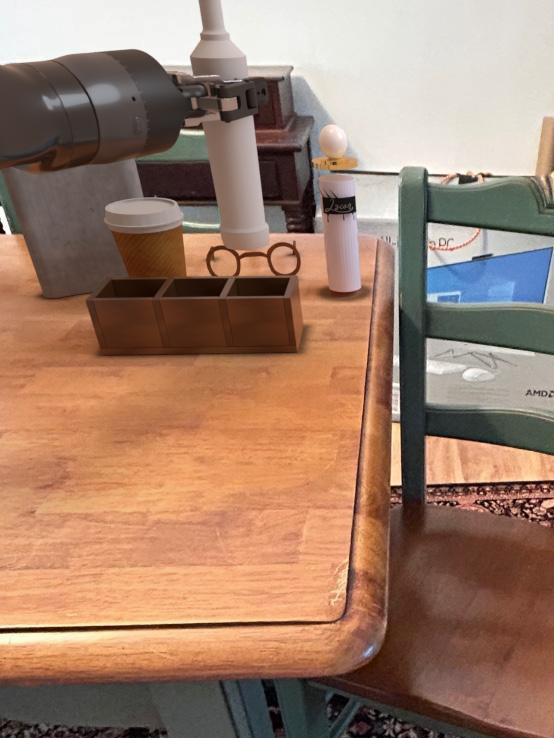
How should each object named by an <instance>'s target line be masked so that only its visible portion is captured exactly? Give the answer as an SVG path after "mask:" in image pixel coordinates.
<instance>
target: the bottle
mask: <svg viewBox="0 0 554 738" xmlns="http://www.w3.org/2000/svg"><path fill="white" fill-rule="evenodd" d="M198 6H199V12H200V13H199V14H200V20H201V25H202V31H200V33H199V37H200V40H199V41H198V42H197V44H196V46H195V48H194V49H193V51H192V52H191V53H190V55H189V60H190V67H191V71H192V75H199V74H215V75H219V76H220V77H221V78H222V80H226V79H234V77H239V79H244V78H250V77H249V70H248V61H247V55H246V54H245V53H244V52H243V51H242V50H241V49H240V48H239V47H238V46H237V45H236V44H235V43H234V42H233V41H232V39H231V35H230V32H228V31H227V30H226V28H225V21H224V13H223V8H222V0H198ZM204 85H205V87H206V88H207V90H208V95H209V96H211V93H210V87H209V84H208V83H204ZM211 111H212V110H209V111H208V112H207V113H209V112H211ZM254 121H255V119H254V115H251V116H248V117H244V118H241V119H238V120H235V121H231V123H225V121H221V120H217V121H207V122H201V124H202V129H203V134H204V139H205V144H206V149H207V157H208V161H209V167H210V172H211V176H212V182H213V187H214V193H215V198H216V203H217V208H218V213H219V219H220V226H219V235H220V237H221V238H220V239H221V241H222V244H223V245H224V246H225V247H226V248H228V249H232V250H235V251H241V252H242V251H254V250H260V249H263V248H266V247H267V246H269V245H270V244H269V243H270V227H269V223H267V222H266V216H265V208H264V199H263V189H262V182H261V181H262V180H261V174H260V164H259V155H258V148H257V147H258V146H257V138H256V129H255V122H254Z"/></svg>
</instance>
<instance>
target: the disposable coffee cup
mask: <svg viewBox="0 0 554 738" xmlns="http://www.w3.org/2000/svg"><path fill="white" fill-rule="evenodd" d="M105 215H106V217H105V218H104V222H105V223H106V224H107V225H108V228H109V229H110V230H111V232H112V234H113V237H114V239H115V242H116V244H117V247H118V249H119V252H120V254H121V257H122V260H123V262H124V264H125V267H126V270H127V272H128V275H129V277H177V276H188V274H187V265H186V264H187V263H186V255H185V244H184V233H183V223H184V217H185V215H184V212H183V211H181V208H180V206H179V204H178V201H176V200H173V199H171V198H166V197H151V196H150V197H144V198H134V199H126V200H121V201H117V202H114V203H111V204H109V205H107V206H106V207H105Z"/></svg>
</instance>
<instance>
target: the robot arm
mask: <svg viewBox="0 0 554 738" xmlns="http://www.w3.org/2000/svg"><path fill="white" fill-rule="evenodd" d="M204 83H208V84H209V87H210V93H211V96H209V95H208V90H207V88H206V87H205V85H204ZM267 84H268V83H267V81H266V78H265V77H263V76H253V77H249V78H244V79H239V77H234V79H226V80H222V78H221V77H220V76H219V75H215V74H199V75H193V74H191V73H188V72H184V71H177V70H166V69H165V68H164V67H163V65H162V64H161V63H160V61H158V60H157V59H156V58H155V57H154V56H153V55H151V54H149V53H148V52H145V51H144V50H141V49H137V48H127V49H114V50H113V49H112V50H104V51H93V52H92V51H91V52H80V53H70V54H64V55H61V56H58V57H54V58H52V59H46V60H37V61H35V60H34V61H25V62H13V63H12V62H11V63H6V64H3V65H2V64H0V171H1V169H5V168H9V167H13V168H14V169H17V170H19V171H21V172H25V173H30V174H45V173H51V172H57V171H62V170H67V169H72V168H76V167H81V166H86V165H105V164H112V163H116V162H121V161H125V160H130V159H138V158H143V157H147V156H152V155H157V154H162V153H165V152H167V151H169V150H170V149H172V148H173V147H174V146H175V144H176V143H177V141H178V139H179V137H180V134H181V131H182V127H183V128H184V127H185V128H188V127H198V126H200V125H201V124H202V122H207V121H217V120H221V121H225V123H231V121H235V120H238V119H241V118H244V117H248V116H251V115H253V116H255V115H257V114H259V108H258V107H260V106H265V105H268V103H269V92H268V85H267ZM209 110H212V111H211V112H209V113H207V112H208V111H209Z"/></svg>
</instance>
